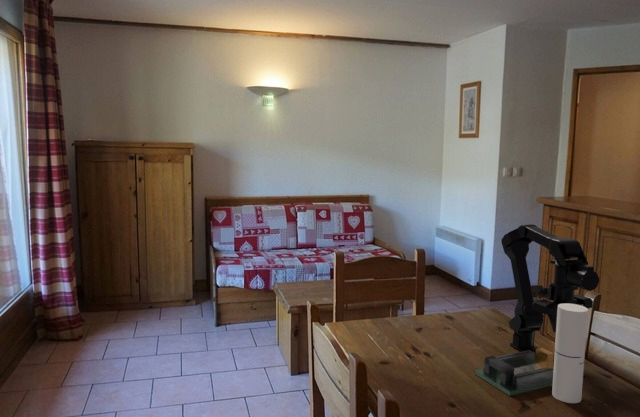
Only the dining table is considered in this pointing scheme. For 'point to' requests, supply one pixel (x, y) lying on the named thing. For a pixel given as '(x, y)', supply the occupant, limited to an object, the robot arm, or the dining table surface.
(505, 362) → the green plate fixture
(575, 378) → the cylindrical container
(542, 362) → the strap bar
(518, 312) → the robot arm
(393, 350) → the dining table surface
